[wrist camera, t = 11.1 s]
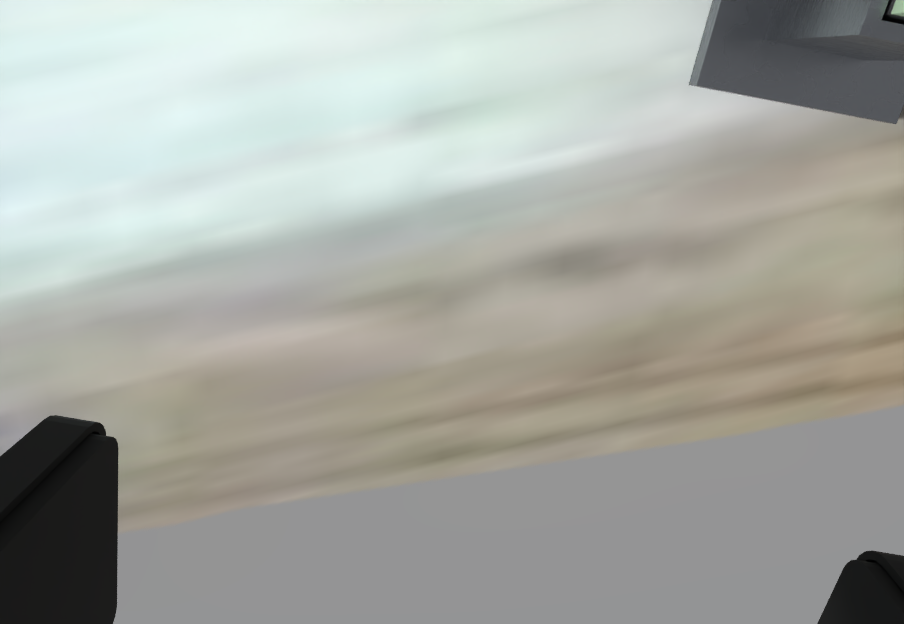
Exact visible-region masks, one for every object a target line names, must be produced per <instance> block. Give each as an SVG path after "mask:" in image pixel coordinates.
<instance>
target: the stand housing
mask: <svg viewBox="0 0 904 624" xmlns="http://www.w3.org/2000/svg"><path fill="white" fill-rule="evenodd" d="M888 1H889V0H713V2H712V5H711V9H710V12H709V16H708V19H707V23H706V26H705V30H704V33H703V37H702V40H701V44H700V47H699V51H698V54H697V58H696V61H695V65H694V68H693V72H692V75H691V79H690V82H689V85H692V86H697V87H702V88H708V89H713V90H718V91H723V92H729V93H734V94H739V95H744V96H749V97H755V98H760V99H765V100H770V101H776V102H781V103H786V104H791V105H796V106H802V107H807V108H812V109H817V110H823V111H828V112H833V113H838V114H843V115H849V116H854V117H859V118H864V119H870V120H875V121H880V122H886V123H893V124H896V123H897V121H898V118H899V116H900V113H901V111H902V108H903V106H904V25H903V24H898V23H893V22H888V21H883V20H882V17H883V15H884V12H885V9H886V7H887V4H888Z"/></svg>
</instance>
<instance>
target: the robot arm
mask: <svg viewBox="0 0 904 624" xmlns="http://www.w3.org/2000/svg"><path fill="white" fill-rule="evenodd" d="M117 532H118V443H117V441H116V439H115V438H114V437H109V436H106V431H105V429H104V426H103V425H102V424H101V423H98V422H92V421H86V420H80V419H74V418H68V417H62V416H56V415H55V416H49V417H47V418H46V419H44V420H43V421H42V422H40V423H39V424H38V425H37V426H36V427H35V428H33V429H32V430H31V431H30V432H29V433H27V434H26V435H25V436H24V437H23V438H22V439H20V440H19V441H18V442H17V443H16V444H15V445H13V446H12V447H11V448H10V449H9V450H7V451H6V452H5V453H4V454H3V455H2V456H0V624H113V621H114V618H115V614H116V608H117ZM818 624H904V556H901V555H895V554H889V553H883V552H877V551H866V552H864V553H862V554H861V555H859V557H858V558H857V560H851V561H850V562H848V563H847V564H846V565H845V567H844V568H843V571H842V573H841V575H840V577H839V579H838V581H837V583H836V585H835V588H834V590H833V592H832V594H831V596H830V598H829V600H828V603H827V605H826V607H825V609H824V611H823V613H822V615H821V617H820V619H819V621H818Z"/></svg>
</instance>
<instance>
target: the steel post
mask: <svg viewBox="0 0 904 624" xmlns="http://www.w3.org/2000/svg"><path fill="white" fill-rule="evenodd" d="M882 20H883V21H888V22H893V23H898V24H903V25H904V0H889V1H888V4H887V7H886V9H885V12H884V15H883V17H882Z"/></svg>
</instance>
